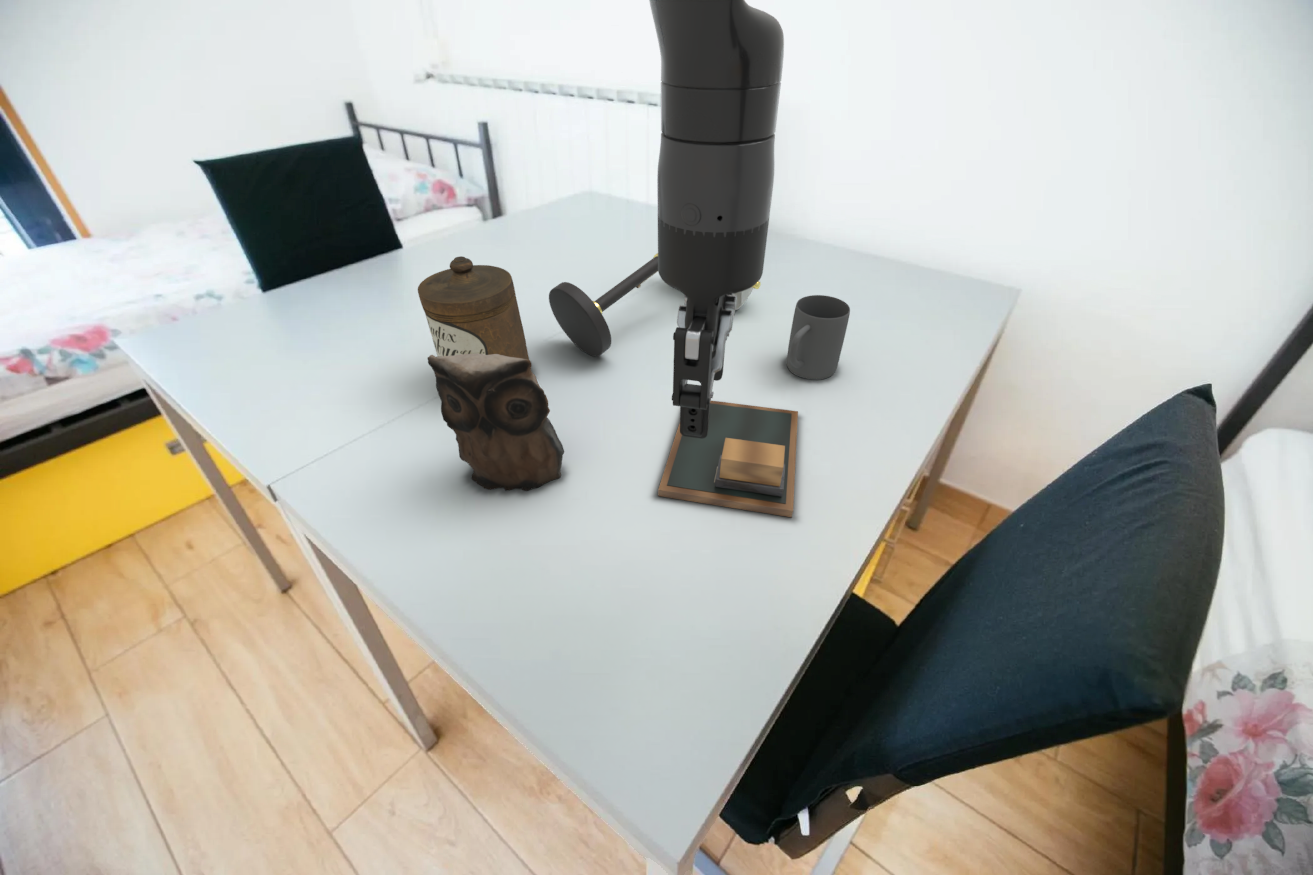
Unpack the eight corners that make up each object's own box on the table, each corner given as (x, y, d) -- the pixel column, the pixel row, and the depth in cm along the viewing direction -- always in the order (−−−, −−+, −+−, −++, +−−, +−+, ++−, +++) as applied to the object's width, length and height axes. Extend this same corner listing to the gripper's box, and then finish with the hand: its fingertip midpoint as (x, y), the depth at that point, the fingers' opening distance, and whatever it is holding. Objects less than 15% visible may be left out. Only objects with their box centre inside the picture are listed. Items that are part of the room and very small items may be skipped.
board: (796, 417, 87) (798, 410, 86) (791, 517, 71) (793, 509, 70) (687, 403, 91) (687, 396, 90) (658, 496, 74) (658, 488, 73)
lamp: (643, 412, 102) (774, 298, 117) (613, 316, 85) (771, 196, 100) (558, 359, 117) (684, 264, 131) (519, 268, 100) (668, 170, 114)
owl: (571, 479, 77) (553, 357, 64) (487, 518, 71) (448, 394, 58) (533, 433, 85) (509, 317, 72) (454, 465, 79) (413, 346, 66)
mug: (800, 348, 104) (811, 290, 96) (845, 365, 99) (860, 304, 92) (762, 379, 96) (771, 317, 88) (809, 398, 91) (822, 335, 84)
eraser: (783, 471, 75) (789, 444, 72) (781, 497, 72) (787, 469, 69) (719, 462, 77) (722, 435, 74) (714, 486, 73) (716, 459, 70)
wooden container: (430, 382, 96) (390, 261, 82) (497, 348, 105) (471, 234, 91) (481, 413, 89) (446, 287, 75) (548, 374, 98) (529, 255, 84)
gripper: (761, 251, 30) (736, 465, 41) (776, 183, 41) (754, 366, 51) (631, 242, 32) (639, 451, 42) (679, 178, 42) (676, 357, 53)
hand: (702, 404), depth 47 cm, fingers open, 8 cm apart
